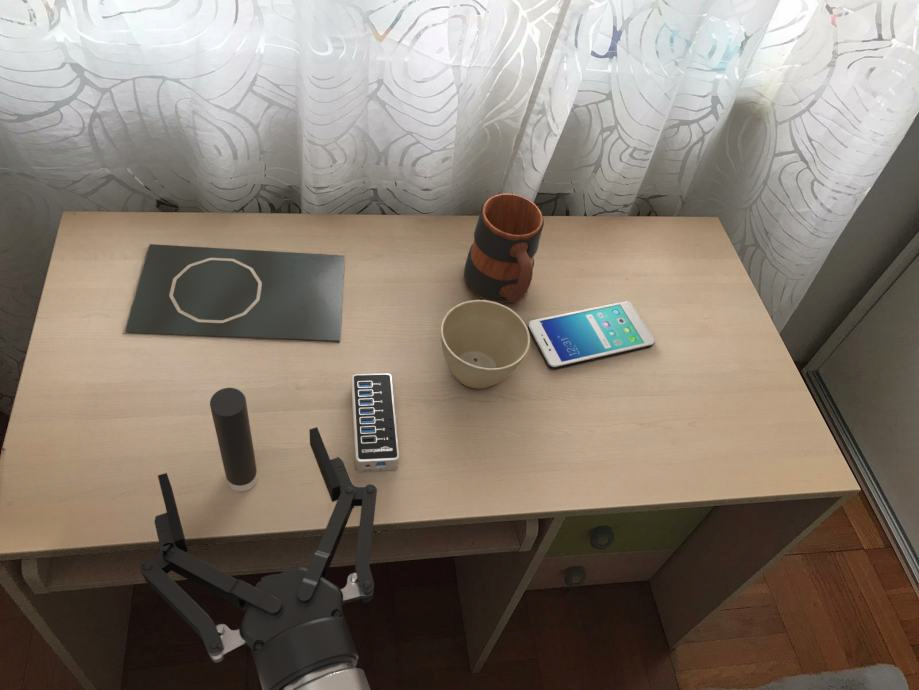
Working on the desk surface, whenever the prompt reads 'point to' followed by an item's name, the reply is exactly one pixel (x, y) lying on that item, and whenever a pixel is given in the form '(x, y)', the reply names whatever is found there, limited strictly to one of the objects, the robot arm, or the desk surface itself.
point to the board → (238, 294)
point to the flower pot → (483, 342)
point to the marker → (234, 438)
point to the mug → (504, 248)
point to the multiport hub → (374, 423)
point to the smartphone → (590, 334)
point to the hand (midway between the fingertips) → (241, 457)
